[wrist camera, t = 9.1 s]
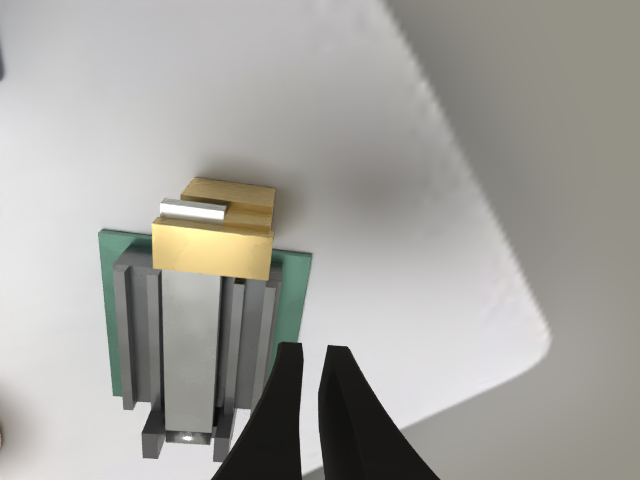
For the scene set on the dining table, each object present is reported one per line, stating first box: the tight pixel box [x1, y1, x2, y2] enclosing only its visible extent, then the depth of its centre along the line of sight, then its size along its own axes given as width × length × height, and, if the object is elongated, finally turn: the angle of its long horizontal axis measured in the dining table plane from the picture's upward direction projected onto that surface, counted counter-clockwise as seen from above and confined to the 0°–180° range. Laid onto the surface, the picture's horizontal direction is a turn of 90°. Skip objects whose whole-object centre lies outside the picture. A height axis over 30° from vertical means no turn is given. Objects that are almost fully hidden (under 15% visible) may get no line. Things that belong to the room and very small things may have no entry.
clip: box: [152, 177, 276, 281], centre depth 18 cm, size 3×5×5 cm, turn 81°
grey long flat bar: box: [160, 198, 226, 445], centre depth 19 cm, size 15×2×1 cm, turn 171°
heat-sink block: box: [98, 230, 311, 417], centre depth 22 cm, size 12×11×3 cm
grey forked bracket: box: [142, 403, 237, 462], centre depth 23 cm, size 3×5×4 cm, turn 81°
